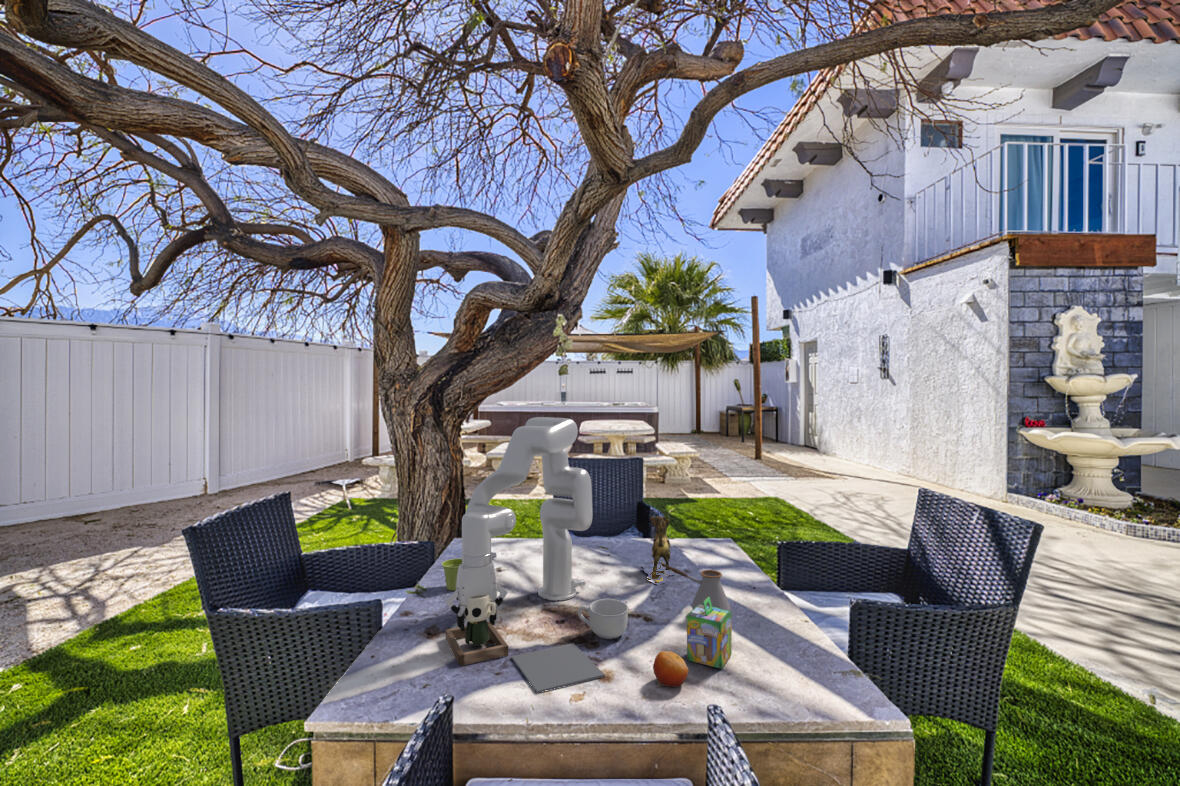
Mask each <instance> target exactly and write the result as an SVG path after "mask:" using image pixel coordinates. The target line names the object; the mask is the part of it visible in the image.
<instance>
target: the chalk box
mask: <svg viewBox="0 0 1180 786" xmlns="http://www.w3.org/2000/svg"><path fill="white" fill-rule="evenodd" d="M707 603H709V606H706V604H707ZM732 618H733V614H732V611H731V610H730V611H727V610H723V609H720V608H716V607H712V605H711V601H710V597H709V596H708V597H707V598H706V599H705V600H704V601H703V605H698V606H697V607H695V608H694V609H692V610H691V611H690V612H688V614H687V615H686V651H687V652H686V660H687V661H689V662H693V663H697V664H699V665H700V664H701V665H705V666H707V667H708V666H709V667H712V668H717V669H719V670H722V668H723V667H724V665H726V663H727V662H728V661H729V659H730V658H731V657H730V656H732V655H731V654H733V653H732V651H733V649H732V647H733V646H732V643H733V642H732V640H733V638H732V637H733V633H732V631H733V629H732V626H733V623H732Z"/></svg>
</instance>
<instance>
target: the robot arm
mask: <svg viewBox="0 0 1180 786" xmlns="http://www.w3.org/2000/svg"><path fill="white" fill-rule="evenodd" d="M577 425H578V424H577V423H576V422H575V421H574V420H573V419H572V418H565V417H548V416H547V417H546V416H545V417H544V416H537V417H531V418H529V419H528V420H527V421H526V422H525V425H521V426H519V427H517V428H516V429H514V431H513V432H512V433H511V434H512V435H511V438H510V440H509V442H508V444H507V446H506V449H505V452H504V455H503V456H502V459H501V461H500V464H499V466H498V468H497V469H496V470H495V471H493V472H492V473H491V474H490V475H488V476H487V477H486V478H485V479H484V480H482V481H481V482H480V484H479V485H477V487H476V488H475V489H474V491H473V492H472V495H471V497H470V500H469V501H468V505H467V507H466V510H465V514H463V516H462V518H461V559H462V564H460V565H459V568H458V573H457V583H456V590H455V591H453V592H452V593H451V594H450V595H449V596H448V597H447V598H446V599H445V600H444V602H445V604H446V606H447V607H448V608H449V609H450V610H451V611H452V612H453V613H454V614H455V615H456V626H457V628H458V627H459V628H460V630H461V631H464V630H465V626H466V625H465V618H464V615H463V612H464V610H465V608H466V606H467V605H468V601H469V598H481V597H484V596H487V595H489V599H490V602H493V603H495V608H496V612H495V615H490V617H489V618H488V620H489V621H488V622H490V623H491V624H492V625H493V626H495V625H496V621H497V618H498V617H497V610H498V609H499V606H500V605H501V604H502V603H503V601H504V599H505V598H506V596H507V595H508V593H509V592H508V591H507V590H506V589H505V588H504V587H502V586H500V585H499V584H498V583H497V575H496V568H495V565H494V564H495V563H494V562H493V560H494V559H496V558H497V552H492V538H493V537H498V536H499V537H500V536H504V535H507V534H509V533H510V532H512V530H514V528H515V527H516V523H517V518H516V517H517V516H516V514H515V512H514V511H513V509H511V508H509V507H505V506H499V505H498V506H497V505H492V504H489V503H490V502H491V501H492V499H493V498H494V497H495V496H496V495H497V494H499V493H501V492H502V491H504V490H507V489H509V488H512V487H515V486H517V485H519V484H522V483H523V482H525V481H526V479H527V477H528V474H529V472H530V469H531V467H532V463H533V462H534V459H535V457H536V455H537V456H538V455H540V456H541V465H542V481H543V489H544V491H545V492H546V493H547V494H549V495H551V496H559V497H560V498H559V497H552V498H547V499H545V500H544V501H543V503H542V504H541V506H540V509H539V510H540V511H539V515H540V522H541V529H542V587H540V588H539V589H538V590H537V594H538V597H540V598H541V599H543V600H546V599H547V600H546V601H555V602H556V601H558V600H559V601H566V600H569V599H573V598H574V597H575V596H576V595H577V588H578V587H583V586H586V581H585V579H579V578H574V579H573V578H572V577H573V573H572V572H573V571H572V570H573V569H572V566H573V543H572V542H573V540H572V536H571V534H570V532H569V530H571V531H580V532H583V531H586V530H588V529H589V528H590V527H591V525H592V522H593V512H594V511H593V491H592V490H593V488H592V487H593V486H592V479H591V478H592V477H591V476H590V474H589V472H588V471H587V470H586V469H584V468H581V467H571V466H570V464H569V456H568V450H567V448H568V447H571V446H572V445H573V444H574V443H575V441H576V439H577V437H578V433H579V432H578V426H577ZM561 497H565V498H561ZM566 497H567V498H566ZM568 498H572V499H568ZM498 593H499V595H498ZM455 600H456V601H458V604H457V606H456V604H454V603H453V602H454V601H455ZM491 611H492V606H491Z"/></svg>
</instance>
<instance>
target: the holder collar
mask: <svg viewBox="0 0 1180 786" xmlns="http://www.w3.org/2000/svg"><path fill="white" fill-rule="evenodd" d="M487 624H488V631H489V638H490V637H491V638H490V639H491V641H492V640H493V641H494V642H493V641H492V642H493V643H495V644H496V645H495V646H491V647H486V648H481V649H476V650H470V651H465V652H464V651H463V650H462V648H461V645H460V644H459V642H458V641H457V639H455V638H459V639H462V638H461V637H464V638H465V635H466V627H467V625H464V626H465V630H464V631H461V630H460V628H459V627H458V626H457V627H453V628H449V629H445V641H446V640H447V641H446V643H447V642H448V643H447V644H449V645H448V646H450V647H449V649H450V648H451V649H450V650H452V651H451V653H452V652H453V653H452V654H453V656H454V659H455V660H456V662H457V664H458V666H459V667H461V666H467V665H471V664H474V663H475V662H476V663H481V662H485V660H486V661H490V660H489V659H491V660H495V659H499V658H498V657H500V658H504V657H503V656H505V657H508V656H509V645H508V644H507V642H506V641H505V640H504V638H503V637H502V636H501V634H500V633H499V631H498V630H497V629H496V627H495V625H492V624H491V623H490V622H489V621H487ZM494 658H495V659H494ZM476 663H475V664H476Z"/></svg>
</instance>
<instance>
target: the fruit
mask: <svg viewBox="0 0 1180 786" xmlns="http://www.w3.org/2000/svg"><path fill="white" fill-rule="evenodd" d="M652 666H653V667H652V669H653V674H654V676H655V678H656V680H657V681H656V682H657V687H658V688H660V686H665V687H669V688H679V687H681V686H682V685H683V684H684V682H685V680H686V679H687V678H688V673H689V667H688V666H687V664H686V662H685V660H684V658H682V657H681V656H680V655H679V654H677V653H675V652H673V651H671V650H669V651H667V650H665V651H663V650H662V651H660V652H658V653H657V654H656V656H655V658H654V662H653V665H652Z"/></svg>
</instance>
